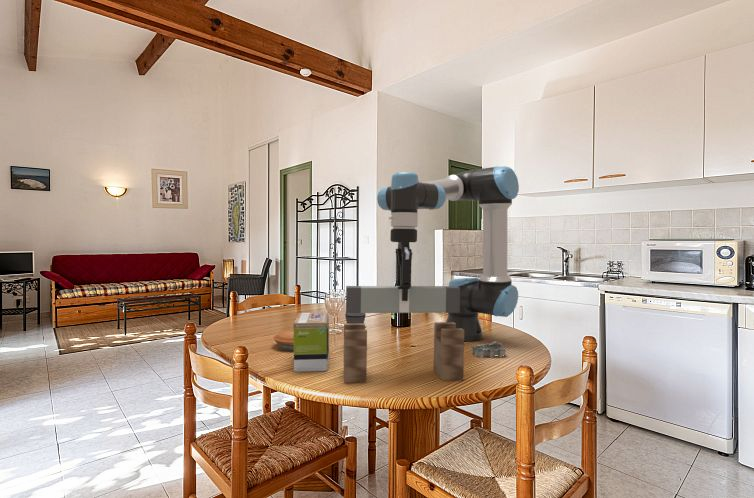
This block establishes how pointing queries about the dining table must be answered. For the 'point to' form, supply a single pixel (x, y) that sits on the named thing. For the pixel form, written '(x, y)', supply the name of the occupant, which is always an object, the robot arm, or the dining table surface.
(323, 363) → the tea box
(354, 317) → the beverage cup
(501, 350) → the egg carton
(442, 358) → the posts
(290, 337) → the pie
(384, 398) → the dining table surface
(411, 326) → the dining table surface
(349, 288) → the bed rail
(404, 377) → the dining table surface
